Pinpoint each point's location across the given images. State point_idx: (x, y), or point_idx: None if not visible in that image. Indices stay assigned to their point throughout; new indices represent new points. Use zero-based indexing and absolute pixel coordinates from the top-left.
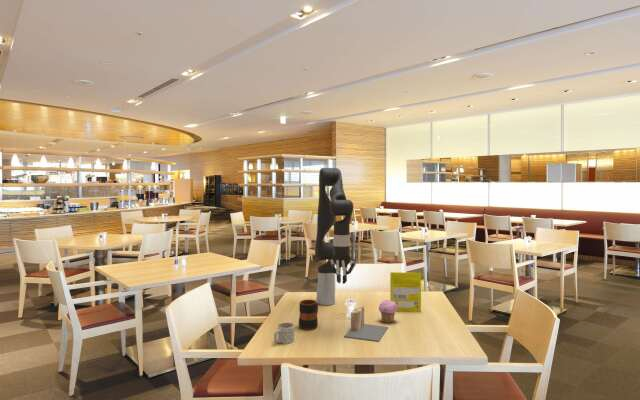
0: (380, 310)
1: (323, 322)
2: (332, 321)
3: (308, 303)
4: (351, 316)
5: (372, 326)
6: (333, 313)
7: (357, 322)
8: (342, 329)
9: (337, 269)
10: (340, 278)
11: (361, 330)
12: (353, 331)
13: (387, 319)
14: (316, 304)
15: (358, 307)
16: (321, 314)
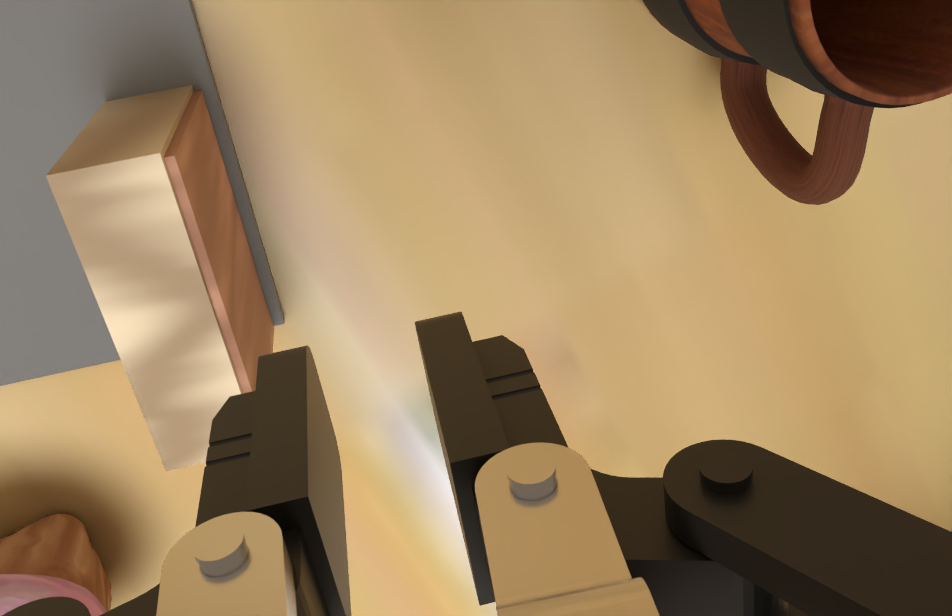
0: (47, 581)
1: (637, 167)
2: (560, 249)
3: (928, 62)
4: (168, 133)
5: (55, 323)
6: (660, 451)
7: (88, 130)
8: (323, 77)
9: (565, 592)
10: (449, 477)
11: (76, 136)
12: (137, 49)
13: (4, 542)
14: (774, 17)
15: (211, 402)
16: (760, 365)
